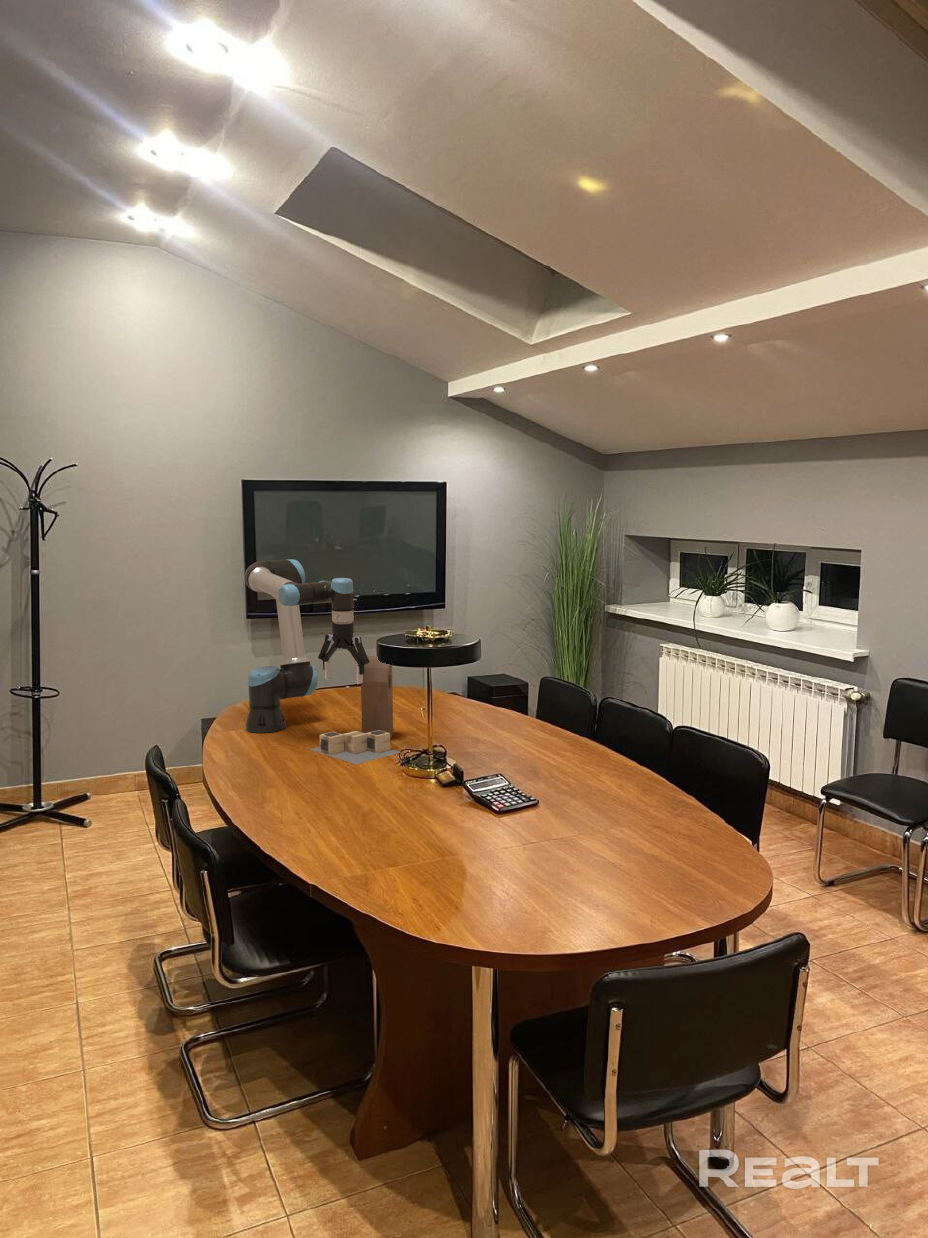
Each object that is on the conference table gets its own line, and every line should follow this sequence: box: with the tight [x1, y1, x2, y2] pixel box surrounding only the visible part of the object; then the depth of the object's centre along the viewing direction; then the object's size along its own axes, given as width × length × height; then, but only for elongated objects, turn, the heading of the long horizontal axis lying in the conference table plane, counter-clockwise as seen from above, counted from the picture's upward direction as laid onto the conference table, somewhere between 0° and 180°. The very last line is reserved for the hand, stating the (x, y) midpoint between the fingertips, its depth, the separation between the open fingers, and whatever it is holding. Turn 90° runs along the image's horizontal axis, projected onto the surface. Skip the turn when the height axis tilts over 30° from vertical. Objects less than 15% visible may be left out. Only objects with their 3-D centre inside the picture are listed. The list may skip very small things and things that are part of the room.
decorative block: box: [360, 655, 394, 739], centre depth 339 cm, size 10×10×30 cm
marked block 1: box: [319, 731, 344, 755], centre depth 322 cm, size 6×6×6 cm
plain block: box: [342, 730, 367, 754], centre depth 323 cm, size 6×6×6 cm
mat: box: [309, 746, 402, 765], centre depth 324 cm, size 26×20×1 cm
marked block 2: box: [366, 730, 391, 753], centre depth 324 cm, size 6×6×6 cm
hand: (343, 681), depth 330 cm, fingers open, 13 cm apart
